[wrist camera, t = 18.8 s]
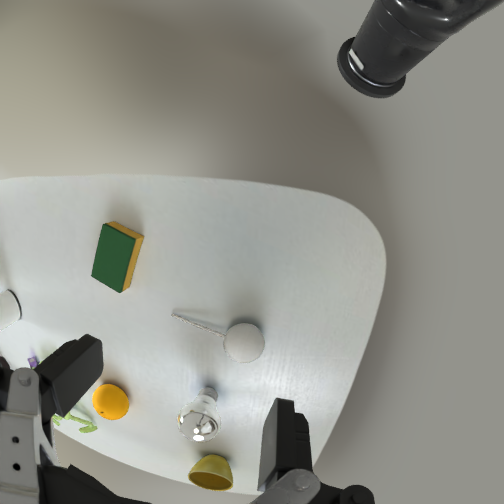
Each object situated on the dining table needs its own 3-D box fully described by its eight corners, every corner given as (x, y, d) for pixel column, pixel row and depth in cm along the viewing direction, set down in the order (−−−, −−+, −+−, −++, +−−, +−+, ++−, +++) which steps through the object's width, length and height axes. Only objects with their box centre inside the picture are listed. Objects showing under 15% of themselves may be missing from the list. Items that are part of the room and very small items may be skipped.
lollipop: (184, 313, 44) (268, 344, 41) (166, 339, 40) (254, 375, 36) (178, 289, 40) (272, 322, 37) (158, 316, 36) (257, 357, 32)
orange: (114, 405, 48) (99, 426, 40) (96, 379, 46) (79, 398, 39) (140, 405, 46) (126, 428, 39) (121, 377, 45) (104, 399, 38)
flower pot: (186, 455, 49) (179, 477, 42) (210, 443, 47) (204, 467, 40) (219, 472, 50) (214, 493, 43) (245, 461, 48) (242, 485, 41)
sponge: (114, 221, 38) (102, 223, 35) (144, 236, 38) (134, 239, 35) (101, 270, 40) (90, 276, 37) (129, 286, 40) (119, 293, 37)
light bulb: (196, 402, 44) (179, 448, 33) (187, 374, 43) (164, 421, 31) (232, 403, 44) (221, 452, 32) (225, 375, 42) (210, 424, 31)
